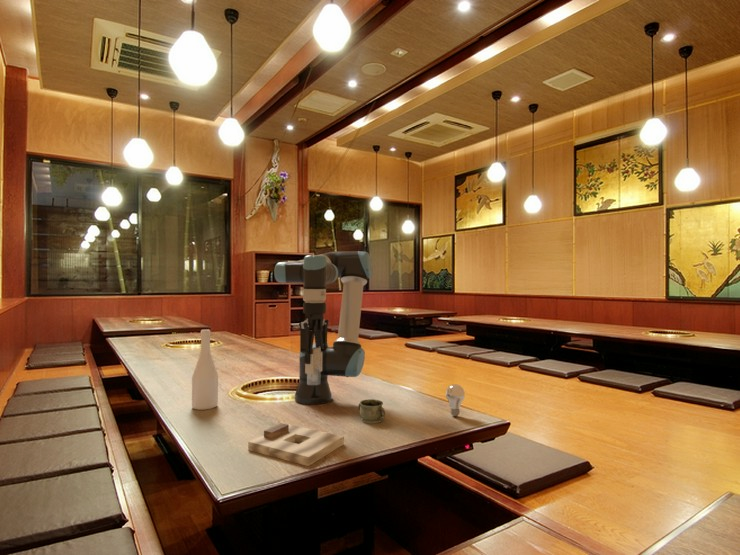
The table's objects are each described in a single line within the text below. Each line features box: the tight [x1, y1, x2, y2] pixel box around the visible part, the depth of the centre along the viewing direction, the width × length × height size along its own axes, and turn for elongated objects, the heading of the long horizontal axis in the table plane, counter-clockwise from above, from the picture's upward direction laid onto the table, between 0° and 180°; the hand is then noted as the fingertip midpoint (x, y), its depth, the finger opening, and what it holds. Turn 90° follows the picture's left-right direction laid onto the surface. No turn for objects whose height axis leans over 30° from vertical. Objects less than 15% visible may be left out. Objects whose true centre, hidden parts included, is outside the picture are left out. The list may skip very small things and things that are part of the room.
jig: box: [247, 422, 345, 467], centre depth 134 cm, size 22×18×4 cm
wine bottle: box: [191, 329, 219, 411], centre depth 174 cm, size 10×10×30 cm
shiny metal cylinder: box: [307, 346, 321, 385], centre depth 148 cm, size 4×4×12 cm
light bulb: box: [445, 383, 465, 418], centre depth 165 cm, size 7×7×12 cm
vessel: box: [357, 398, 386, 424], centre depth 161 cm, size 12×9×6 cm
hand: (313, 372), depth 148 cm, fingers closed on shiny metal cylinder, 4 cm apart
